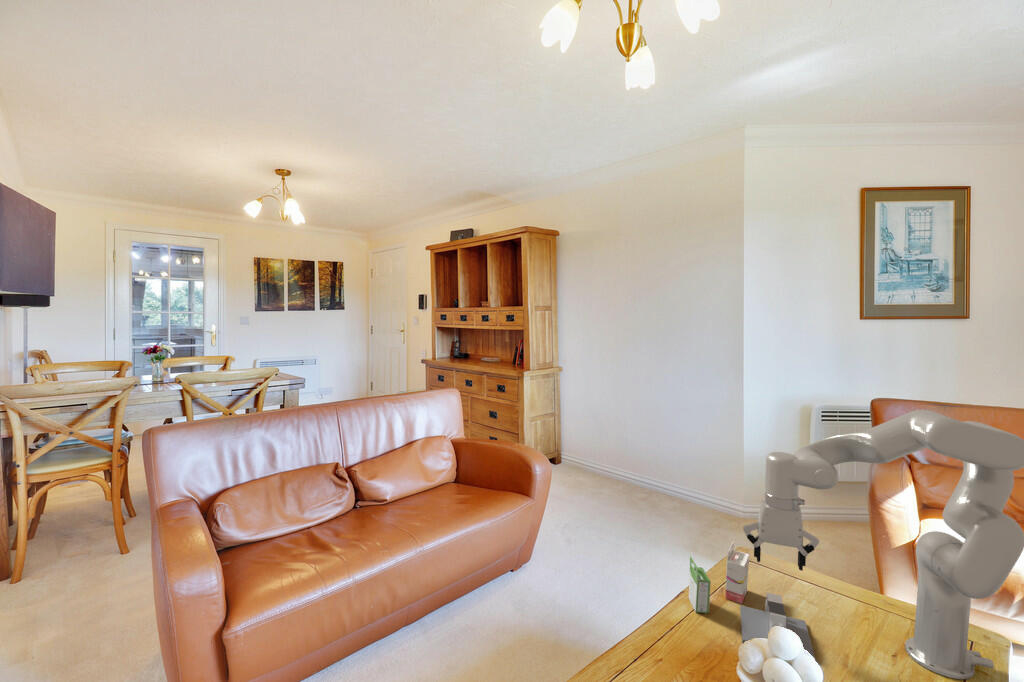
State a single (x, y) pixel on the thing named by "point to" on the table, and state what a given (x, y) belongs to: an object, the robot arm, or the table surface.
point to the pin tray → (757, 628)
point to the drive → (775, 611)
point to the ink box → (699, 588)
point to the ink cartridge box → (736, 575)
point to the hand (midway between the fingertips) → (778, 563)
